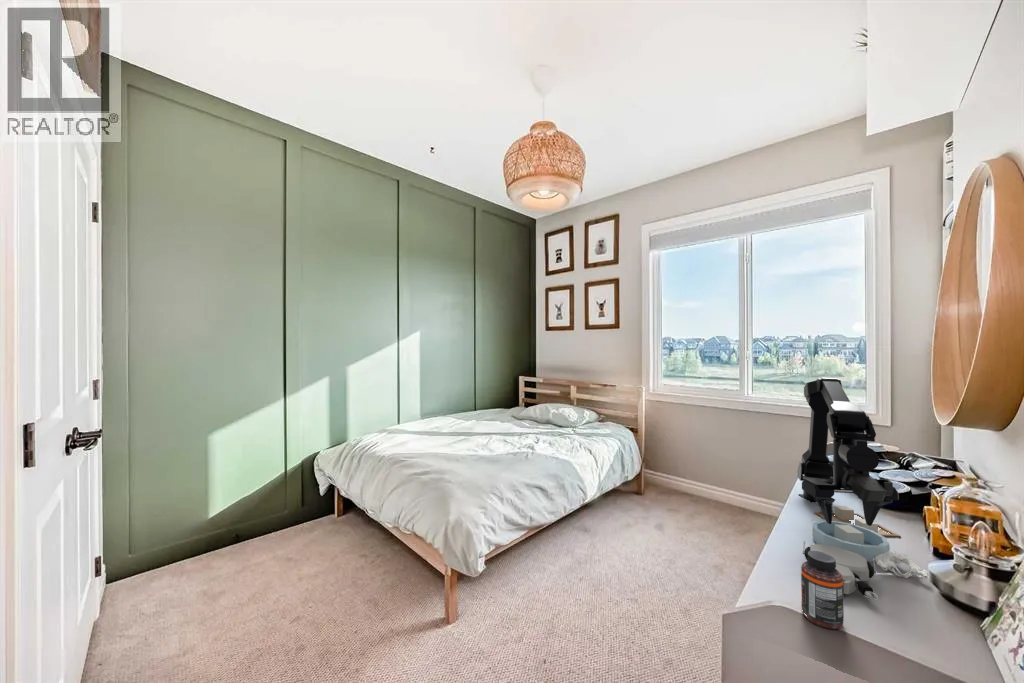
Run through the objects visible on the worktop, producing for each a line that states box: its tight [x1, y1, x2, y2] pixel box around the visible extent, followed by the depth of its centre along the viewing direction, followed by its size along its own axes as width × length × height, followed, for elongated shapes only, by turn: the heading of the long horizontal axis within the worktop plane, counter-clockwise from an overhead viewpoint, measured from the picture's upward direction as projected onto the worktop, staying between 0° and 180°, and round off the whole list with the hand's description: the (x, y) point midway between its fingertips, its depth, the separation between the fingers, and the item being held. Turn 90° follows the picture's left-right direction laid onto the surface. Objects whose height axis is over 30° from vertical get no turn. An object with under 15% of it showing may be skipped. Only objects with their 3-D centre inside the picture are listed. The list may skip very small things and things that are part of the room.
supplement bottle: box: [800, 551, 845, 630], centre depth 71 cm, size 6×6×11 cm
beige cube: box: [834, 525, 864, 545], centre depth 96 cm, size 4×4×4 cm
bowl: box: [811, 519, 891, 562], centre depth 96 cm, size 14×14×4 cm
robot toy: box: [802, 540, 879, 600], centre depth 83 cm, size 12×4×15 cm
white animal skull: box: [875, 551, 930, 580], centre depth 85 cm, size 8×4×7 cm
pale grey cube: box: [855, 519, 879, 533], centre depth 104 cm, size 3×3×3 cm
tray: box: [813, 511, 902, 539], centre depth 109 cm, size 14×12×1 cm
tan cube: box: [833, 505, 855, 520], centre depth 113 cm, size 3×3×3 cm
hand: (848, 524), depth 96 cm, fingers open, 9 cm apart
